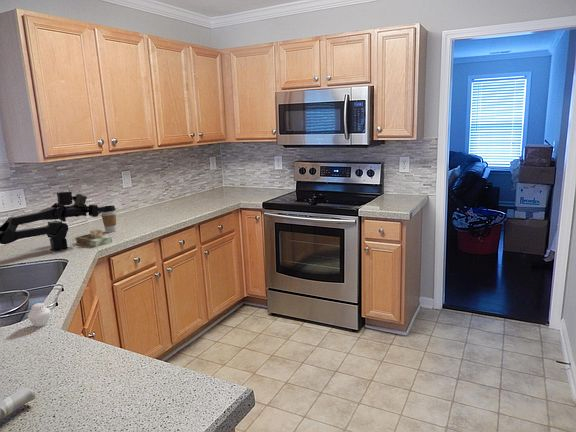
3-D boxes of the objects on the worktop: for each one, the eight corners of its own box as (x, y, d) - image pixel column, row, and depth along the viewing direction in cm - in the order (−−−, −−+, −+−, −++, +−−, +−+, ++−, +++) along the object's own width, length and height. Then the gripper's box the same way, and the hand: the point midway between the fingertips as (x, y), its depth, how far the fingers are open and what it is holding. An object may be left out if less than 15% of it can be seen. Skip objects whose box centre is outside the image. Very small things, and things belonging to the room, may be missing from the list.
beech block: (95, 239, 223) (94, 231, 222) (91, 238, 225) (89, 230, 224) (102, 237, 226) (101, 229, 225) (98, 236, 228) (97, 229, 228)
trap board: (96, 246, 219) (95, 241, 219) (76, 243, 229) (75, 237, 229) (112, 242, 227) (111, 236, 226) (92, 238, 237) (91, 233, 236)
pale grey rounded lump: (55, 319, 136) (51, 298, 135) (48, 327, 131) (44, 306, 129) (34, 321, 136) (30, 300, 134) (26, 330, 130) (21, 308, 128)
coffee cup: (102, 233, 246) (98, 208, 243) (104, 230, 254) (100, 205, 251) (118, 232, 249) (114, 206, 245) (119, 228, 257) (115, 204, 253)
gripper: (81, 196, 217) (109, 194, 229) (61, 194, 227) (89, 192, 240) (82, 218, 218) (110, 215, 231) (63, 216, 229) (90, 212, 241)
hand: (100, 208), depth 236 cm, fingers open, 9 cm apart
